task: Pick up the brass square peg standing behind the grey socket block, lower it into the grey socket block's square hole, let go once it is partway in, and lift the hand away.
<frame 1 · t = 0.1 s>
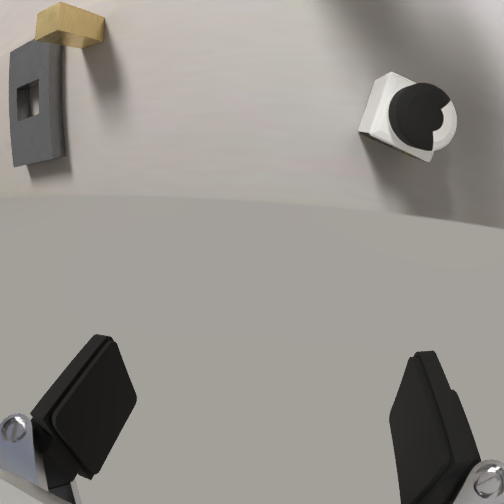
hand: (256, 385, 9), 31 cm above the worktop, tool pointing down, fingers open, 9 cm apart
brass peg: (92, 33, 32), on the worktop
grey socket block: (40, 99, 37), on the worktop
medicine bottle: (392, 117, 33), on the worktop
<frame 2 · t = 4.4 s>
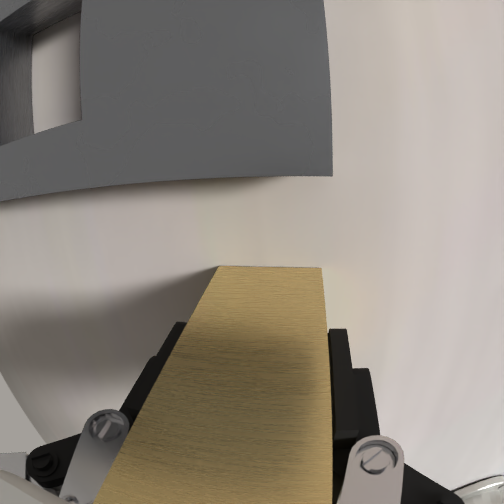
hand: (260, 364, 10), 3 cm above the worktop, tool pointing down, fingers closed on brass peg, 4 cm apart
brass peg: (270, 310, 13), on the worktop, touching gripper
grey socket block: (72, 68, 10), on the worktop
when the fingers open (4 cm above the worktop, at t = 9.3 s): brass peg stays where it is, resting in grey socket block.
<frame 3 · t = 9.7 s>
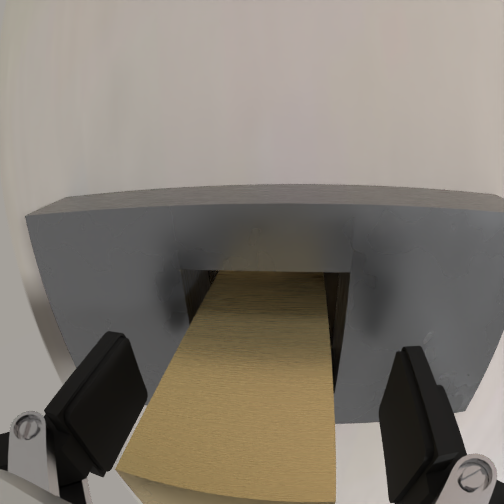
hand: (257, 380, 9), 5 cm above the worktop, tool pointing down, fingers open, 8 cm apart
brass peg: (274, 300, 14), resting in grey socket block
grey socket block: (273, 298, 14), on the worktop
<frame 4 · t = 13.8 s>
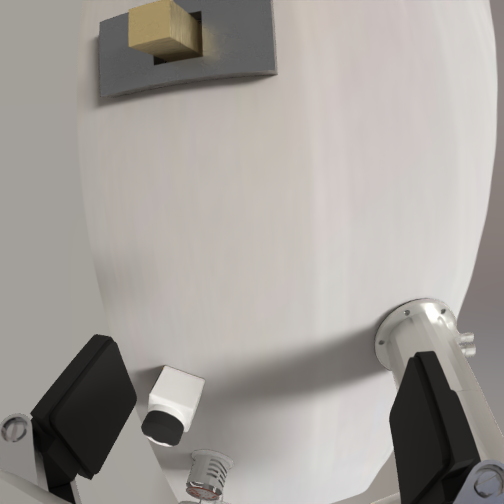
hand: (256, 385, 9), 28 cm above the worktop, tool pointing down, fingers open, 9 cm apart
french press: (214, 461, 60), on the worktop
brass peg: (186, 44, 30), resting in grey socket block
grey socket block: (186, 43, 30), on the worktop
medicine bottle: (182, 383, 50), on the worktop
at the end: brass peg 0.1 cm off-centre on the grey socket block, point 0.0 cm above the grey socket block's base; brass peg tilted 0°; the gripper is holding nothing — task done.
